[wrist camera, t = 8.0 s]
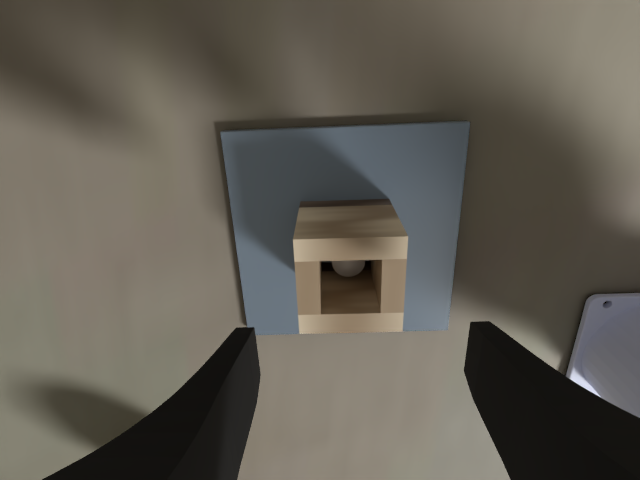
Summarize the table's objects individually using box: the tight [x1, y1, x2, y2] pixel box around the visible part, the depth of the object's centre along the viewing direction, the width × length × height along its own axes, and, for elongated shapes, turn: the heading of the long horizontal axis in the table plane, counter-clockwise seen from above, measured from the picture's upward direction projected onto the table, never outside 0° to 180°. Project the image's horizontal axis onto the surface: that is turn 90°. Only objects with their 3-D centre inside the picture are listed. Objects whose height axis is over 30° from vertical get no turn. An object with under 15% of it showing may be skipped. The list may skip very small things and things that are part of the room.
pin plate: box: [220, 121, 470, 335], centre depth 20 cm, size 12×12×3 cm
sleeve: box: [293, 199, 408, 334], centre depth 19 cm, size 5×5×5 cm
